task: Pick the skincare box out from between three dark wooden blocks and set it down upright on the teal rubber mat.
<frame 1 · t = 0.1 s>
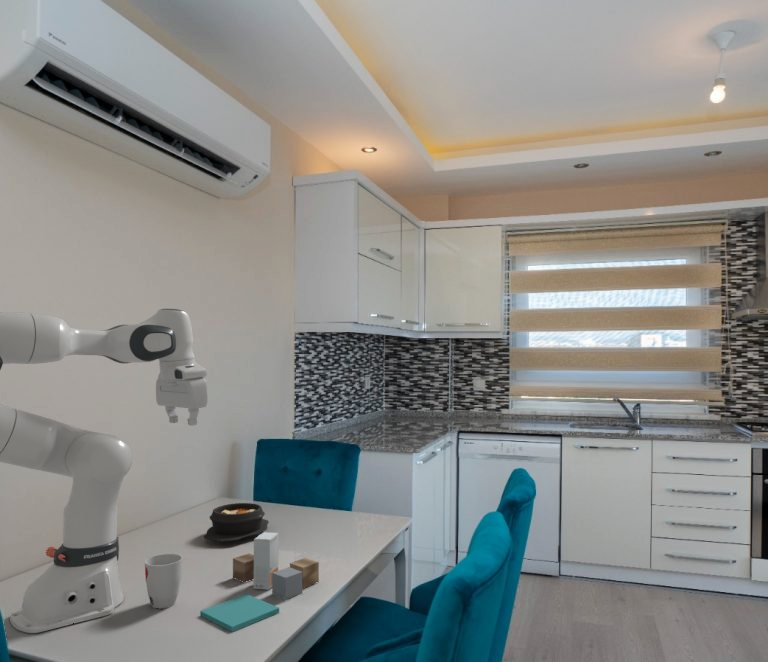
hand: (183, 423, 155), 39 cm above the table, tool pointing down, fingers open, 8 cm apart
walnut block: (247, 577, 152), on the table
cup: (163, 604, 136), on the table
teal mat: (239, 614, 130), on the table
casserole: (237, 535, 189), on the table
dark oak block: (304, 583, 148), on the table
slate grey block: (287, 593, 141), on the table
skincare box: (266, 586, 147), on the table
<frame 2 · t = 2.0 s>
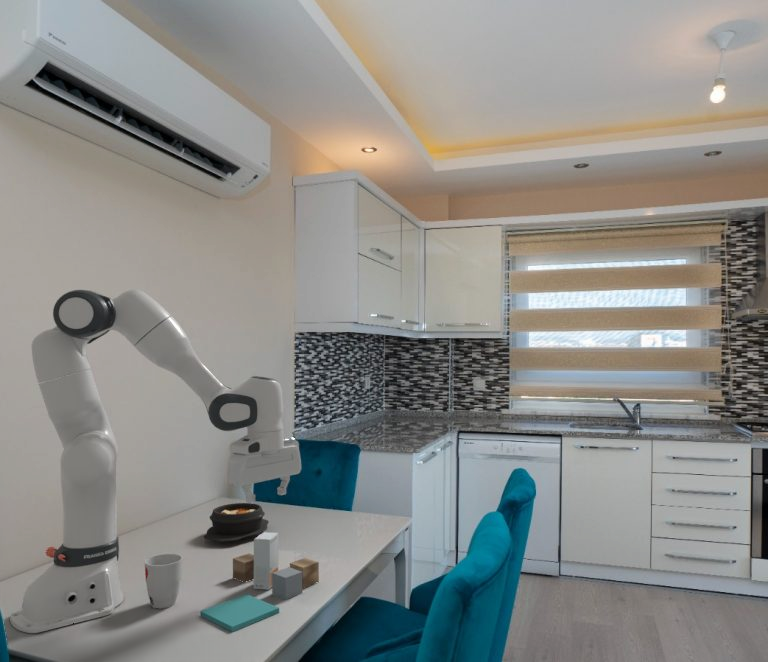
hand: (266, 498, 147), 21 cm above the table, tool pointing down, fingers open, 8 cm apart
nothing on the table moved.
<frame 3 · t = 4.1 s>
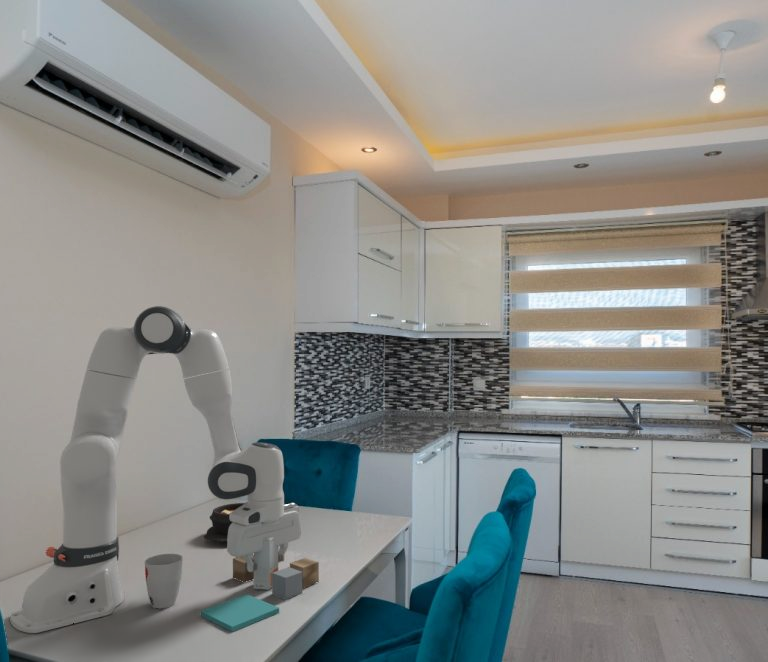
hand: (266, 566, 147), 5 cm above the table, tool pointing down, fingers closed on skincare box, 7 cm apart
skincare box: (266, 585, 147), on the table, touching gripper
everything else where it was.
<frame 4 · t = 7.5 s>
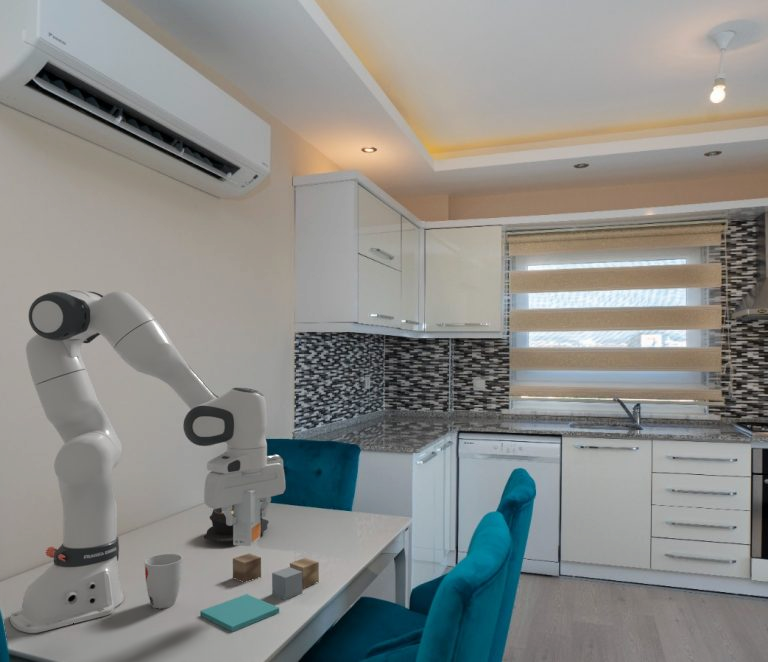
hand: (246, 520, 135), 19 cm above the table, tool pointing down, fingers closed on skincare box, 7 cm apart
skincare box: (247, 542, 135), point 14 cm above the table, touching gripper
everything else where it was.
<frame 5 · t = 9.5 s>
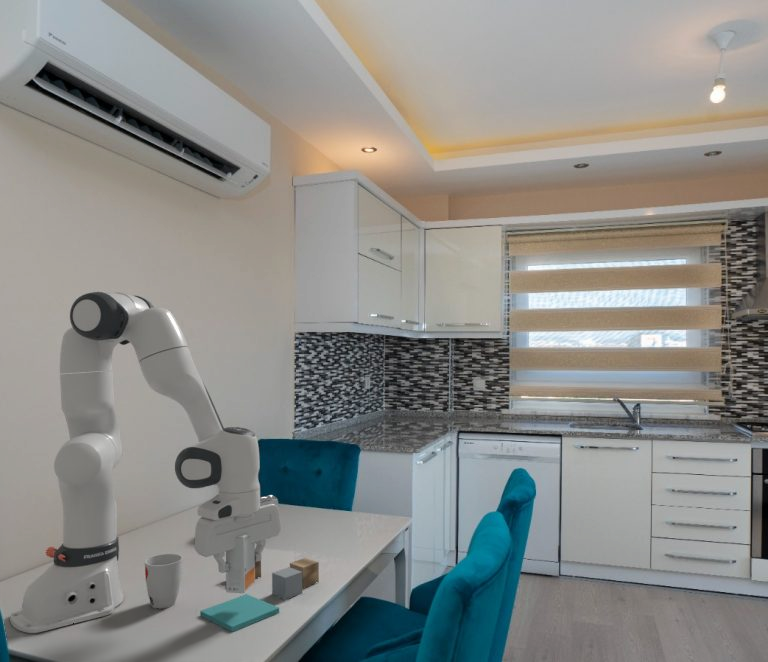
hand: (240, 566, 131), 10 cm above the table, tool pointing down, fingers closed on skincare box, 7 cm apart
skincare box: (241, 588, 130), point 5 cm above the table, touching gripper
everything else where it was.
when the fingers open (7 cm above the table, at t = 11.2 s): skincare box drops 1 cm, resting on teal mat.
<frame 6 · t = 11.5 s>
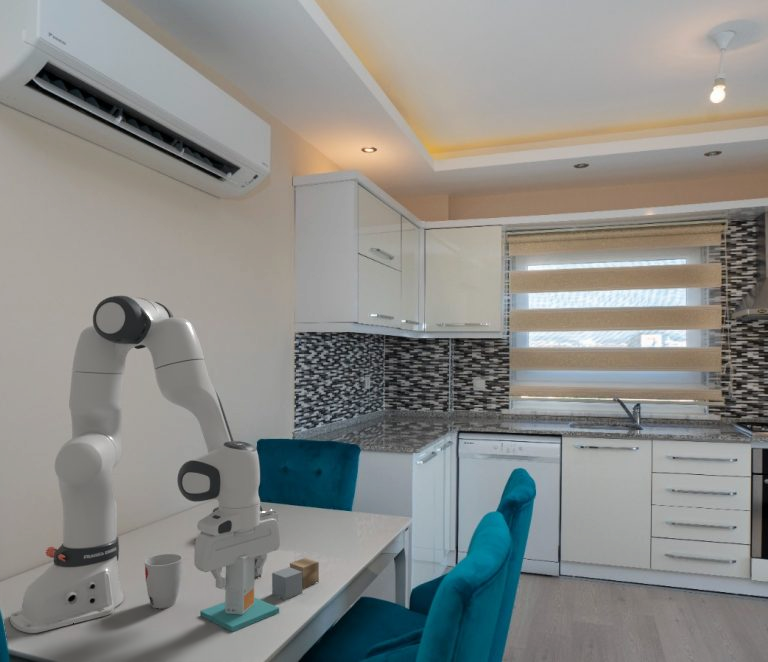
hand: (239, 580, 130), 7 cm above the table, tool pointing down, fingers open, 8 cm apart
skincare box: (240, 609, 130), point 1 cm above the table, touching teal mat
everything else where it was.
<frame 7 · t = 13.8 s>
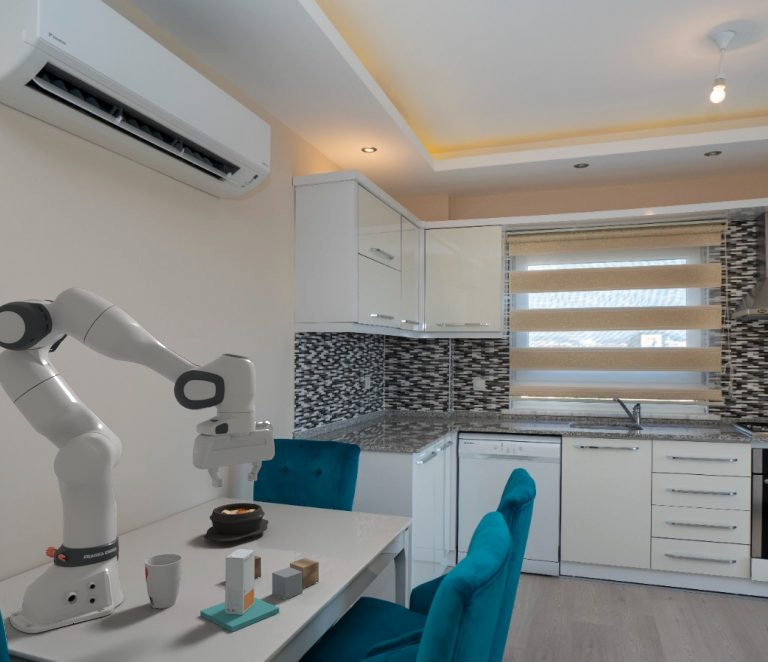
hand: (235, 483, 139), 27 cm above the table, tool pointing down, fingers open, 8 cm apart
nothing on the table moved.
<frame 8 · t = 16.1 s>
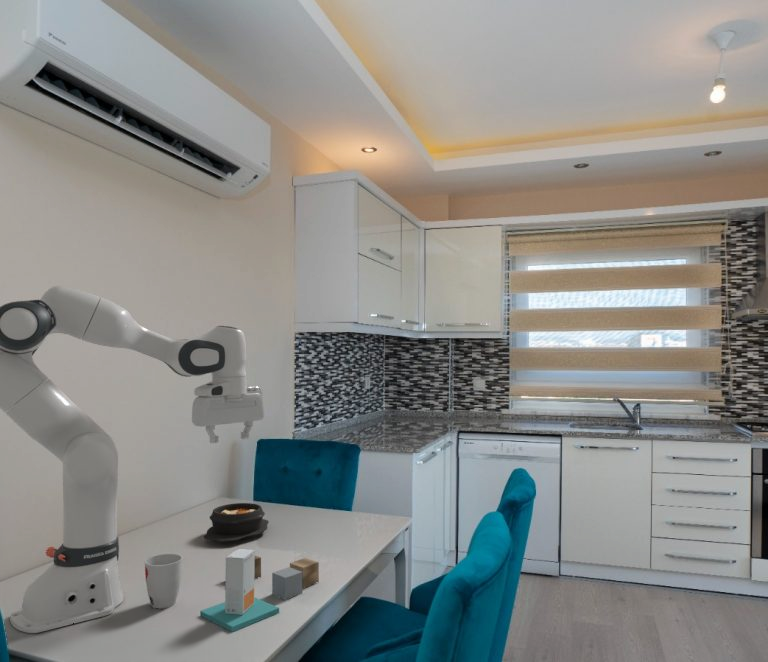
hand: (229, 440, 157), 34 cm above the table, tool pointing down, fingers open, 8 cm apart
nothing on the table moved.
at the end: skincare box inside the target area on the teal mat (0.2 cm from its centre), point 0.8 cm above the teal mat's base; skincare box tilted 0°; the gripper is holding nothing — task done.
